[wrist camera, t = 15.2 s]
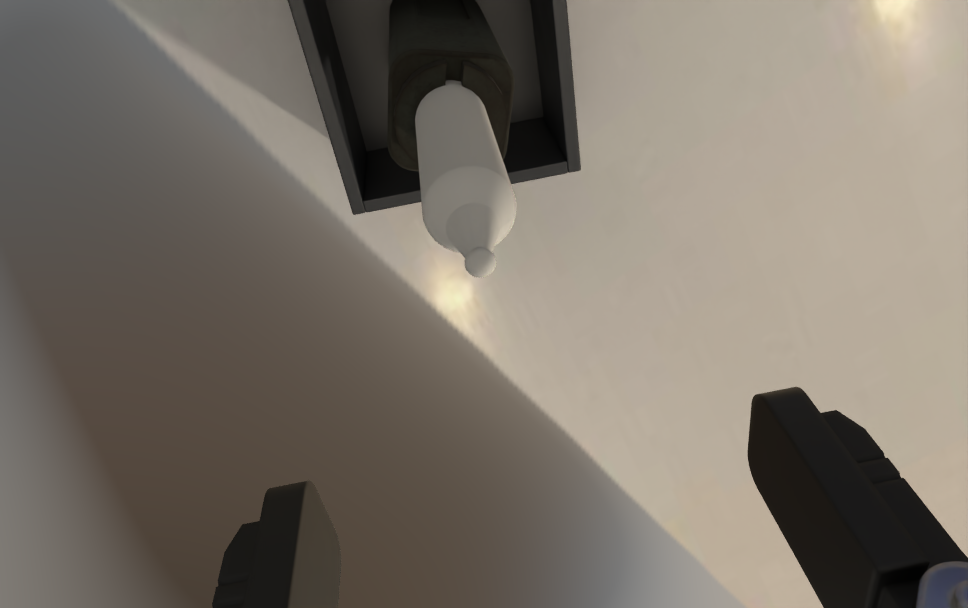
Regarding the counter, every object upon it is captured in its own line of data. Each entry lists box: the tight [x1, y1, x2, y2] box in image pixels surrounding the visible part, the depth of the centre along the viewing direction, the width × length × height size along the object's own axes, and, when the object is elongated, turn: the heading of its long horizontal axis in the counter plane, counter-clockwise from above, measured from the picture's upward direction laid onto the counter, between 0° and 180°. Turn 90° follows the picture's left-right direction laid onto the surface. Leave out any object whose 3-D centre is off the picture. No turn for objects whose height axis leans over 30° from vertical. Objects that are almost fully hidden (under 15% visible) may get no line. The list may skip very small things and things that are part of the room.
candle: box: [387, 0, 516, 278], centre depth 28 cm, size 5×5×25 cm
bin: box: [288, 0, 581, 215], centre depth 36 cm, size 12×12×8 cm
